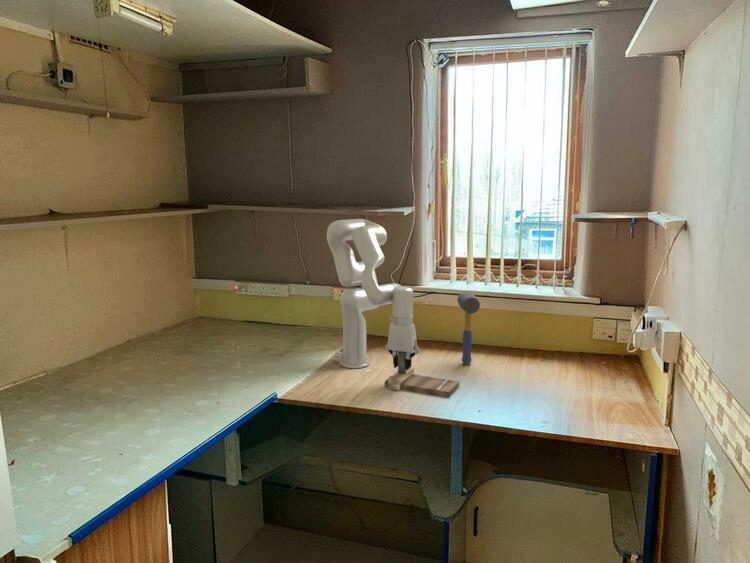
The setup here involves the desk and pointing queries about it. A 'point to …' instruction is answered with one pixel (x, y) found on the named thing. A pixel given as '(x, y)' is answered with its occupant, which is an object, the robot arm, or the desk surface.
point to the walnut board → (428, 385)
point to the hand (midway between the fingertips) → (402, 367)
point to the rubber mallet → (468, 322)
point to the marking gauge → (400, 372)
